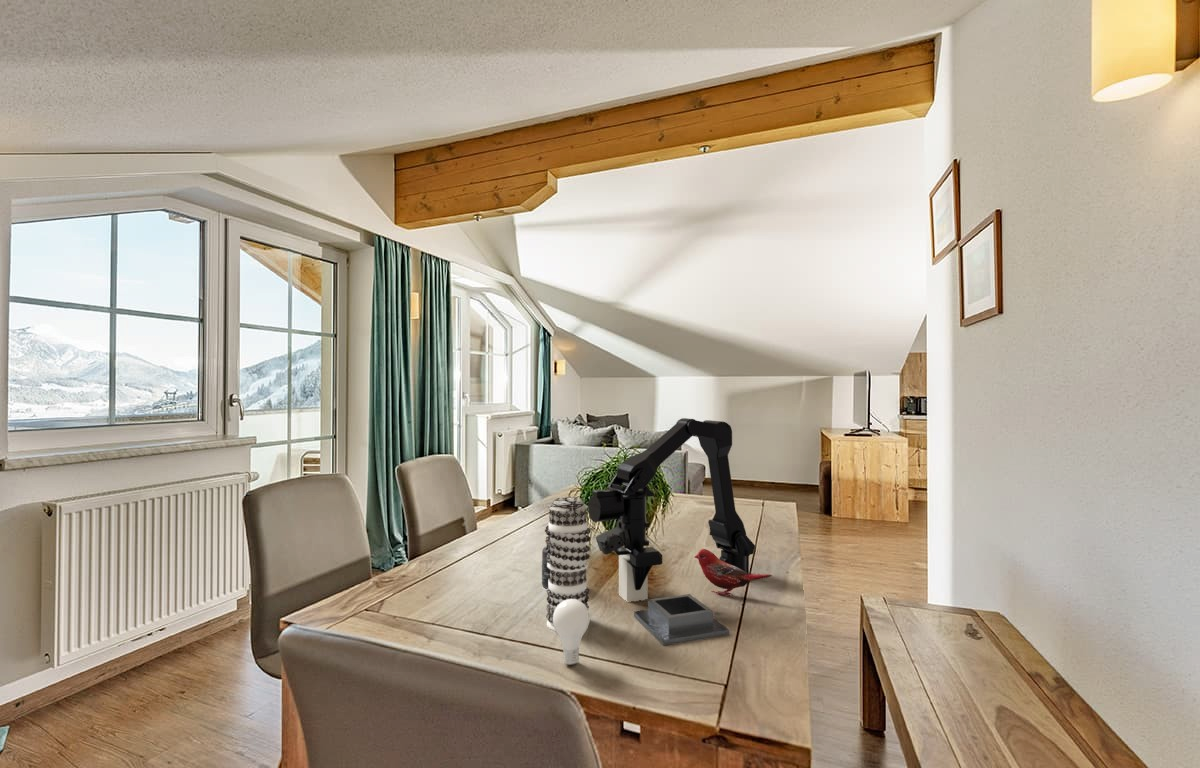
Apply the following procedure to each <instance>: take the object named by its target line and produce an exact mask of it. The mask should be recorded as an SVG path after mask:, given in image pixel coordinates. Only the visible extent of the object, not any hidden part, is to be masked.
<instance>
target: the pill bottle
mask: <svg viewBox="0 0 1200 768" xmlns="http://www.w3.org/2000/svg"><path fill="white" fill-rule="evenodd" d="M545 544H546V545H547V543H546V542H545ZM541 552H542V555H541V556H542V557H541V559H542V561H541V585H542V587H543V588H545V589H548V581H549V568H548V567H547V563H548V561H547V560H546V557H547V554H548V553H547V550H546V546H544V547H543V548H542V551H541Z"/></svg>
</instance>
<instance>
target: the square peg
mask: <svg viewBox="0 0 1200 768" xmlns="http://www.w3.org/2000/svg"><path fill="white" fill-rule="evenodd" d="M628 560H630V554H627V555H619V556H618V595H619V596H620V597H621V598H622V599H623V600H624V601H625V600H626V601H627V602H626V601H625V602H626V603H632V602H631V601H634V602H640V601H639V600H641V601H646V600H645V599H648V600H649V598H648V596H649V595H648V594H649V593H648V592H649V591H648V589H649V587H648V586H649V585H648V584H649V583H648V581H649V579H648V577H649V575H647V577H646V579H645V581H644V583H643V585H642V587H641V589H640V590H635V585H634V578H633V569H632V566H631V565H630V564H628V563H627V561H628Z"/></svg>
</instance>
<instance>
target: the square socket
mask: <svg viewBox="0 0 1200 768" xmlns="http://www.w3.org/2000/svg"><path fill="white" fill-rule="evenodd" d="M633 618H635V619H636V620H637V621H638V622H639V623H640V624H641V625H642V626H643V627H644V628H645V629H646V630H647V631H648V632H649V633H650V634H651V635H652V636H653V637H654V638H655V639H656V640H657V641H658V642H659V643H660V645H662V646H671V645H677V644H682V643H687V642H694V641H700V640H708V639H713V638H719V637H726V636H730V629H729V628H728V627H726V626H725V625H724V624H722V623H721V622H720V621H719V620H717V619H715V617H714V611H713V610H712V609H711V608H709V606H707V605H706V604H704V603H703V602H702V601H700V600H698V599H697V598H696V597H695V596H693V595H692V594H690V593H687V594H678V595H673V596H665V597H663V596H662V597H657V598H656V597H655V598H652V599H651V598H650V599H649V598H648V600H647V609H642V610H635V611H633Z"/></svg>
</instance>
